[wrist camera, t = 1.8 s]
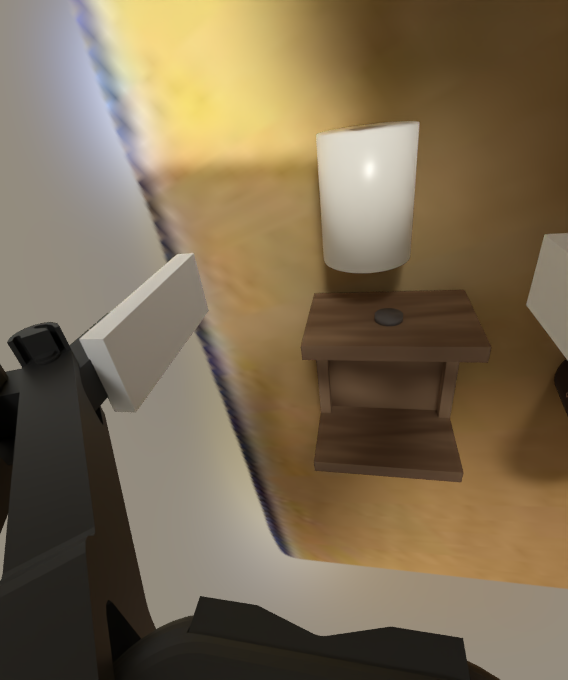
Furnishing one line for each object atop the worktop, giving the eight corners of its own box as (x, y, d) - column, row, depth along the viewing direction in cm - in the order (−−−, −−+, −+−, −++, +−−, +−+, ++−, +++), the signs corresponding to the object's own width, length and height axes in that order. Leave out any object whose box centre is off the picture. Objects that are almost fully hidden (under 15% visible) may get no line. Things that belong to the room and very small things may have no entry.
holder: (313, 289, 32) (300, 341, 25) (465, 285, 29) (492, 341, 23) (323, 410, 40) (315, 473, 33) (444, 415, 37) (460, 485, 30)
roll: (315, 130, 25) (316, 139, 20) (406, 118, 24) (432, 124, 19) (322, 246, 29) (325, 276, 24) (400, 238, 29) (419, 268, 24)
